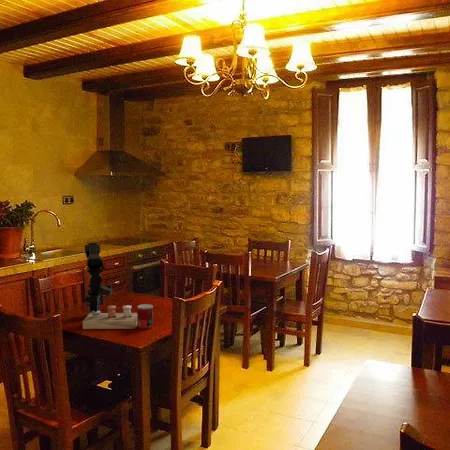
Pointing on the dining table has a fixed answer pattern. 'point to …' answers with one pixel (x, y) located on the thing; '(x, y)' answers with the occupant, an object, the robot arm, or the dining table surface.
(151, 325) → the canned food
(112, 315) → the terracotta plug
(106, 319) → the beech block
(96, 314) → the grey plug
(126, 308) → the cream plug
